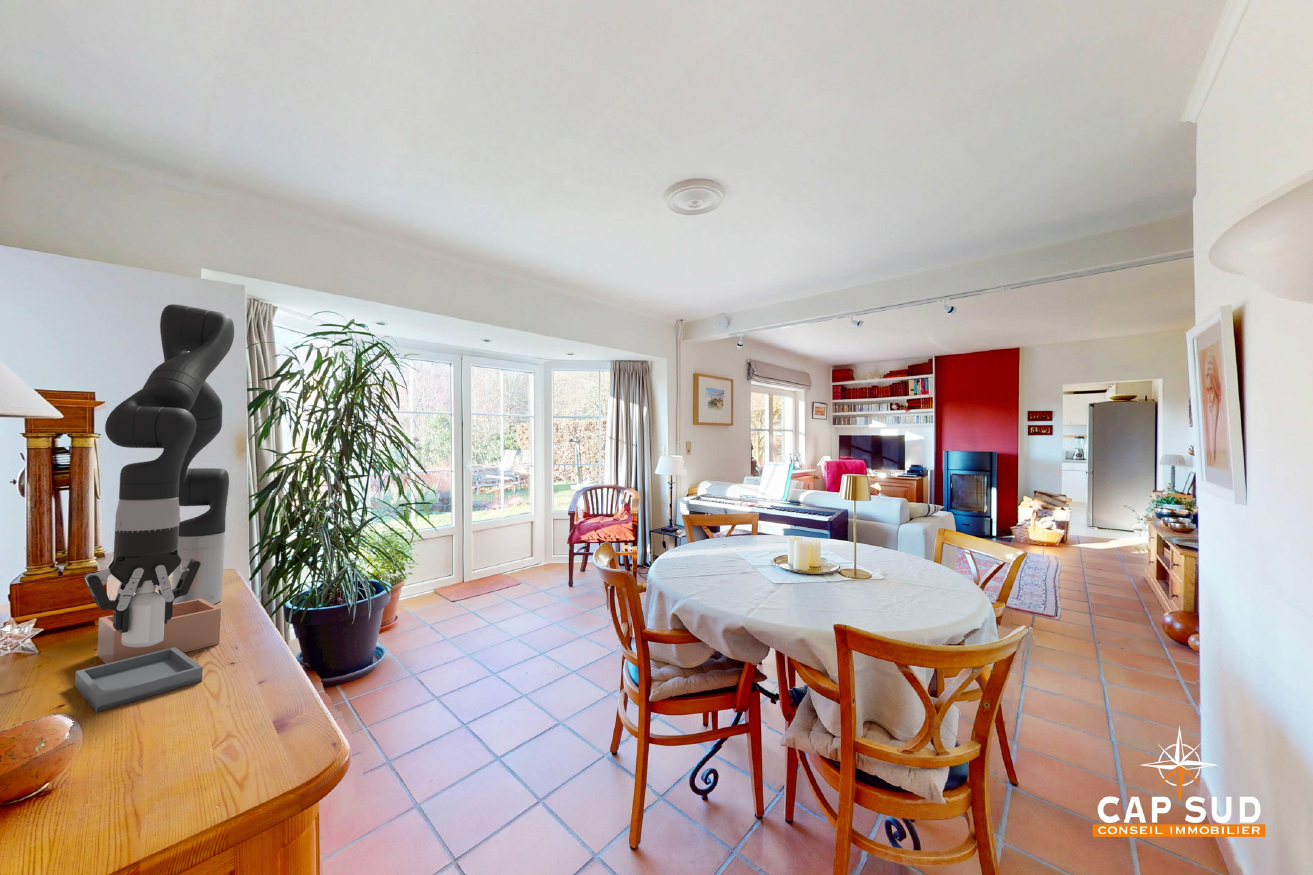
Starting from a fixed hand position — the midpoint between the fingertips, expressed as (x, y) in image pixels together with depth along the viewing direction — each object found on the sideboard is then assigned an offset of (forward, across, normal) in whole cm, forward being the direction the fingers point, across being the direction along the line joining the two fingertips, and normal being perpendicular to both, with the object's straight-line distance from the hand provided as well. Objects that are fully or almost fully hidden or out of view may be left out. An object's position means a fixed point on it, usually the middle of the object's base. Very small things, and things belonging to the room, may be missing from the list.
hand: (142, 626), depth 82 cm
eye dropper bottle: (+3, 0, 0) cm, 3 cm away
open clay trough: (+9, -6, -15) cm, 19 cm away
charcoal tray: (+9, 0, 0) cm, 9 cm away
